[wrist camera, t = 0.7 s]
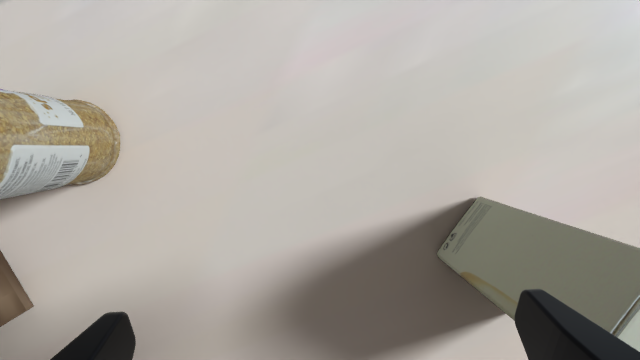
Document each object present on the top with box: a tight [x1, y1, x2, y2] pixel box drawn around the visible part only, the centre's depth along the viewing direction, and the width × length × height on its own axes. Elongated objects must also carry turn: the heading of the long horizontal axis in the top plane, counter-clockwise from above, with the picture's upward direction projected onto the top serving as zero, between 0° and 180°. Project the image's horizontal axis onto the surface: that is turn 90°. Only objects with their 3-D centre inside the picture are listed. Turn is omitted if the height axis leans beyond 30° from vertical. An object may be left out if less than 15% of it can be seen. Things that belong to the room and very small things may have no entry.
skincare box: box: [437, 197, 640, 352], centre depth 18 cm, size 6×4×12 cm
